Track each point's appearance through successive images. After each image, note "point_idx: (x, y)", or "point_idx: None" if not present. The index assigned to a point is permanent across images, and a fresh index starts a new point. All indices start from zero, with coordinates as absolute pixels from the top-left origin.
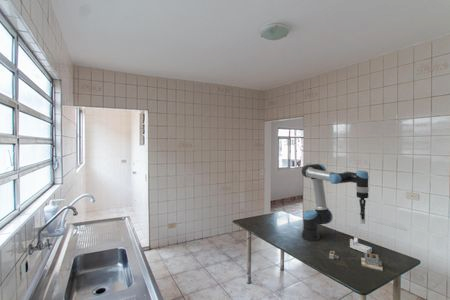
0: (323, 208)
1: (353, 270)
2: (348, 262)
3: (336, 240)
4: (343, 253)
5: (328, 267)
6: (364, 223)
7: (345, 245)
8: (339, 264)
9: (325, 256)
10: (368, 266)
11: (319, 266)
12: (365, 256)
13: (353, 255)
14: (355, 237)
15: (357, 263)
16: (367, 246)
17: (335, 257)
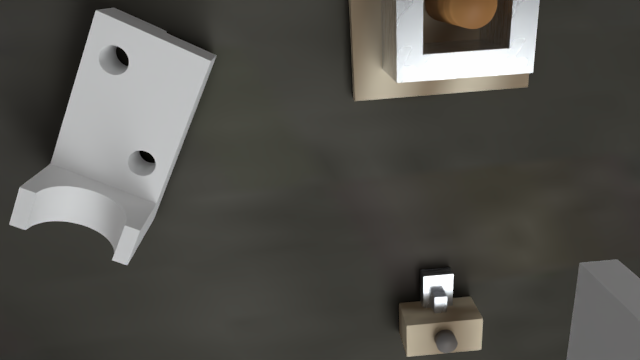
0: None
1: (612, 140)
2: (481, 191)
3: (49, 341)
4: (317, 249)
5: None
6: (623, 281)
7: None
8: (546, 246)
9: (448, 354)
10: None
11: None
12: (506, 67)
13: (314, 169)
14: (23, 216)
15: (468, 122)
16: (90, 60)
17: (450, 293)
